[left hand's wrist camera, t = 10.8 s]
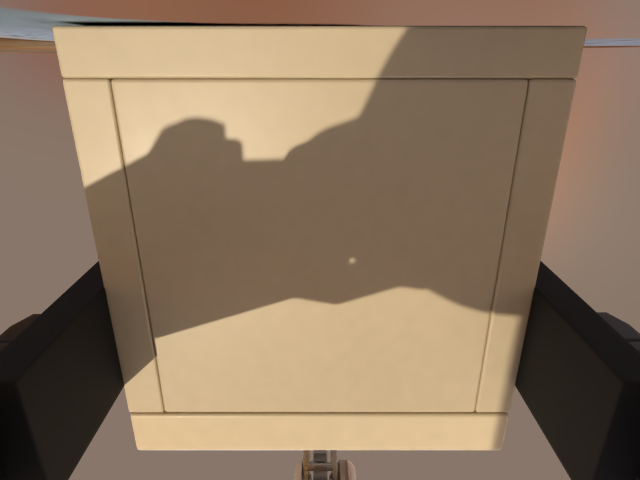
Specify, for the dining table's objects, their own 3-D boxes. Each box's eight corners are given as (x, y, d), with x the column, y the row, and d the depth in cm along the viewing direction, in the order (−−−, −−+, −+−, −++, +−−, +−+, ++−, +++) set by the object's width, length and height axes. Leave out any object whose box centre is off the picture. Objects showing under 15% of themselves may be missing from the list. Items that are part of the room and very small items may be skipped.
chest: (411, 46, 24) (400, 207, 27) (227, 46, 24) (239, 206, 27) (589, 25, 8) (510, 413, 11) (50, 25, 8) (128, 413, 11)
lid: (399, 205, 27) (390, 323, 30) (240, 205, 27) (248, 323, 30) (510, 414, 11) (469, 618, 14) (128, 414, 11) (170, 618, 14)
